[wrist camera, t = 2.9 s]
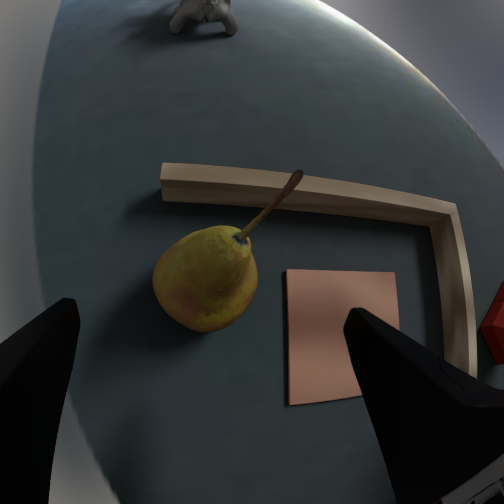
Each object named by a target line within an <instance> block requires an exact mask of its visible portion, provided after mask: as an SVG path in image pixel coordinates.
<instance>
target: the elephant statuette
mask: <svg viewBox="0 0 504 504" xmlns="http://www.w3.org/2000/svg"><path fill="white" fill-rule="evenodd" d="M230 4H231V1H230V0H181V2H180V4H179V6H177V7H176V8H175V9H174V14H175V15H174V17H173V19H172V20H171V21H170V22H169V30H170V31H171V32H172V33H174V34H176V33H179V32H180V31H181V29H182V26H183V25H184V24H185V23H186V22H187V21H188V20H189V19H195V20H197V21H202V20H203V24H205V23H206V19H207V20H208V21H209V22H212V21H214V20H220V21H221V22H222V24H223V25H224V27H225V31H226V33H227V34H228V35H234V34H235V33H236V32H237V31H238V29H239V23H238V22H237V19H236V17H235V15H234V10H233V9H232V8H231V5H230Z"/></svg>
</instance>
